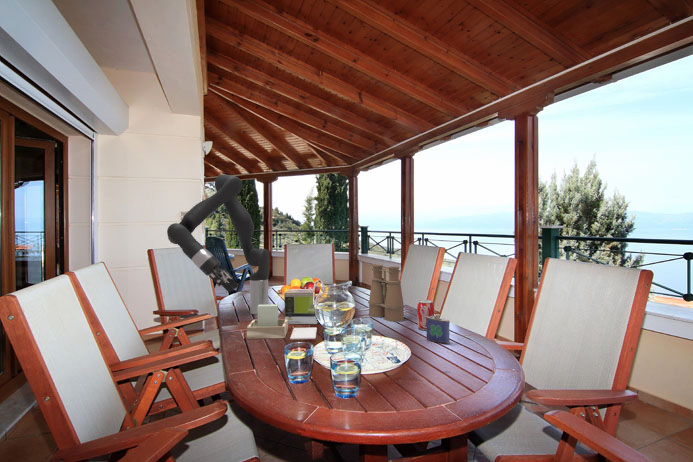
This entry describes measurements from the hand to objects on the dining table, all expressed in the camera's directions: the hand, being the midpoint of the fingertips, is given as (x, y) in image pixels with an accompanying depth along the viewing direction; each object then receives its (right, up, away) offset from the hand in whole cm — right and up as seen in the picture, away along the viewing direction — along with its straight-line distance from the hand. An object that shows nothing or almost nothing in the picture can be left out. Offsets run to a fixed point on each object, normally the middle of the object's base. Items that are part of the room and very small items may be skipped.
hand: (234, 289), depth 148 cm
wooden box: (+14, -19, +1) cm, 23 cm away
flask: (+81, -19, -11) cm, 84 cm away
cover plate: (+14, -19, +1) cm, 23 cm away
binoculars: (+66, -18, +26) cm, 73 cm away
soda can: (+81, -18, +6) cm, 83 cm away
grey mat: (+29, -19, +1) cm, 34 cm away
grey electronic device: (+26, -19, +20) cm, 38 cm away
